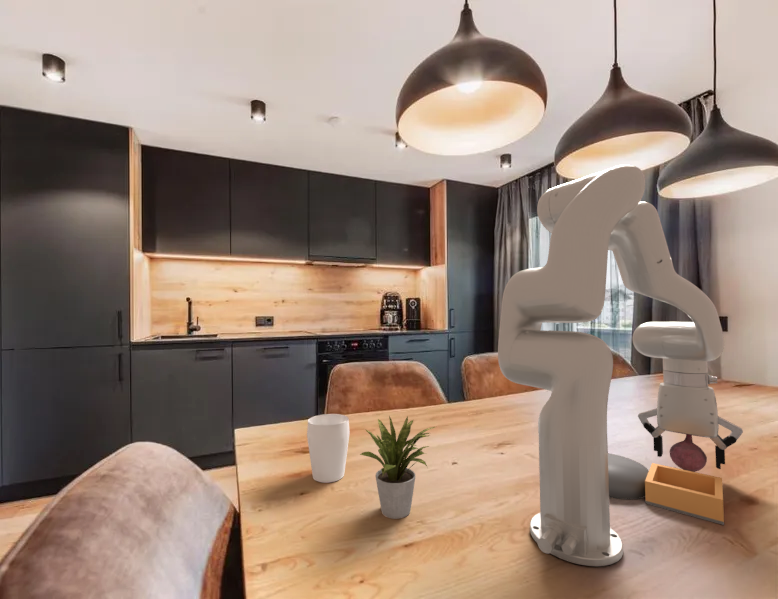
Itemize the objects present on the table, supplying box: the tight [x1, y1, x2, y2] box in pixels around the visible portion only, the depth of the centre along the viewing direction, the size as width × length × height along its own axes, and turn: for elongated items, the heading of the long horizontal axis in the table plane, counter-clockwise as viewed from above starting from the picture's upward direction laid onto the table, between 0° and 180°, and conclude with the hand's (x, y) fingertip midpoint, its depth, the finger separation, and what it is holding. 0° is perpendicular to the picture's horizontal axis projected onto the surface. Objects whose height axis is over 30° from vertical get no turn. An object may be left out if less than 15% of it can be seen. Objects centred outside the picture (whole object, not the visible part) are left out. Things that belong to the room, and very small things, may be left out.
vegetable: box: [669, 434, 708, 472], centre depth 79 cm, size 6×6×10 cm
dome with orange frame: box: [608, 452, 725, 526], centre depth 72 cm, size 14×24×4 cm, turn 49°
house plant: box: [359, 415, 436, 520], centre depth 64 cm, size 14×14×16 cm
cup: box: [306, 413, 351, 484], centre depth 79 cm, size 9×9×12 cm
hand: (688, 460), depth 79 cm, fingers open, 9 cm apart
